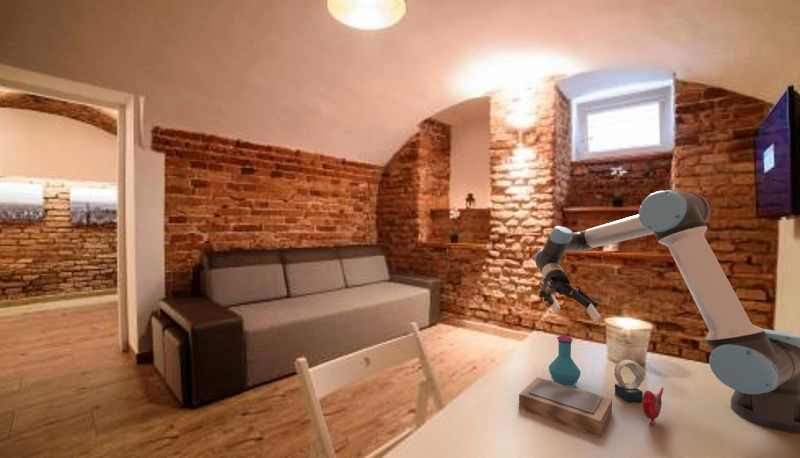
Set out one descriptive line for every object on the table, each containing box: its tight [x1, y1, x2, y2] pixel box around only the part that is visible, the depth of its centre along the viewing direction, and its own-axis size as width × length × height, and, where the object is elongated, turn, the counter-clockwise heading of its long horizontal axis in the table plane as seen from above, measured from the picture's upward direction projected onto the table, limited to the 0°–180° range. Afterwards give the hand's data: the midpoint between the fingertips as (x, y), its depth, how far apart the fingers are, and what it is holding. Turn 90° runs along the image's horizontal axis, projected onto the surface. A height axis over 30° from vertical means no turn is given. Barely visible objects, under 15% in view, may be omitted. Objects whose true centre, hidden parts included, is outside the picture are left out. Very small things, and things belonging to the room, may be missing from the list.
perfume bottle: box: [548, 335, 581, 388], centre depth 112 cm, size 9×9×15 cm
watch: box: [613, 359, 647, 404], centre depth 104 cm, size 6×8×11 cm
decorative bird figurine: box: [642, 387, 665, 428], centre depth 91 cm, size 3×18×10 cm, turn 132°
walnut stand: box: [518, 376, 613, 438], centre depth 96 cm, size 20×14×4 cm
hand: (577, 315), depth 112 cm, fingers open, 13 cm apart
